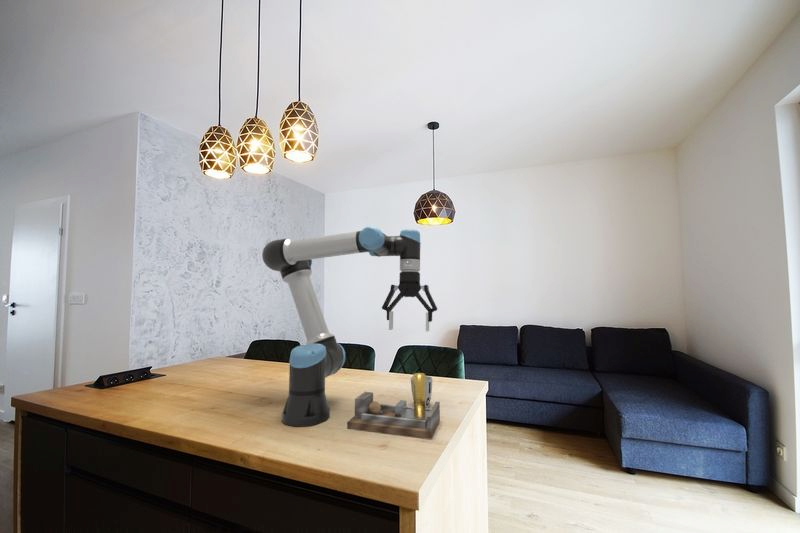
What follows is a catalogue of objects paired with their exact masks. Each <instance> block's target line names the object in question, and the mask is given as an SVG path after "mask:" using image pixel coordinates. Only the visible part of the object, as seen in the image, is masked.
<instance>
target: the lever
mask: <svg viewBox="0 0 800 533" xmlns="http://www.w3.org/2000/svg"><path fill="white" fill-rule="evenodd" d="M413 376H414V401H413V407H414V410H413V409H407V407H408V406H407V404H408V403H407V400H403V399H400V400H399V401H398V402H397V403H396V404H395V417H400V418H409V419H418V420H426V426H427V415H428V414H429V412H430V411H425V376H426V373H423V372H415V373H413Z"/></svg>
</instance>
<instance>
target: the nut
mask: <svg viewBox="0 0 800 533" xmlns="http://www.w3.org/2000/svg"><path fill="white" fill-rule="evenodd" d="M380 404H381V403H380V402H378V401H374V400H373V402H372V403H370V405H369V412H370V413H371V414H373V415H377V414H378V413H379V412H380V411H381V405H380Z"/></svg>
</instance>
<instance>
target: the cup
mask: <svg viewBox="0 0 800 533" xmlns="http://www.w3.org/2000/svg"><path fill="white" fill-rule="evenodd" d="M410 388H411V395H412V401H413V402H414V375H412V376H411V377H410ZM432 391H433V377H432V376H428V375H425V408H426V409H428V408H429V406H430V403H431V400H432Z"/></svg>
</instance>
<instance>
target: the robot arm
mask: <svg viewBox="0 0 800 533" xmlns="http://www.w3.org/2000/svg"><path fill="white" fill-rule="evenodd" d="M363 253H369V255H370V256H371V257H378V258H380V257H399V271H400V272H399V279H398V280H399V284H398V285H395V284H391V285H390V289H389V290H390V291H389V293H388V294H387V296H386V298H385V300H384V302H383V304H382V306H381V309H382V310H384V311H385V312H386V320H387V321H388V330H389V331H391V330H394V311H393V309H395V307H396V305H398V303H399V302H400V301H401V300H402V299H403V298H416V299H417V300H418V301H419V302H420V303H421V305H422V306H423V307H424V308H425V310H426V311H427V312H425V332H430V323H432V322H433V313H434V312H437V311H438V307H437V305H436V303H435V301H434V299H433V297H432V294H431V292H430V289H429V288H430V287H429V285H428V284H424V285H421V273H420V271H421V233H420V232H419V230H417V229H410V228H409V229H407V228H406V229H402V230H401V231H400V234H399V235H397V236H396V235H394V236H393V235H391V236H389V235H386V233H384V232H383V231H382V230H381V229H380V228H378V227H375V226H371V225H370V226H366V227H364V228H362V229H361V230H359V231H358V230H357V231H352V232H351V231H350V232H344V233H338V234H329V235H322V236H318V237H317V236H316V237H315V236H314V237H310V238H307V237H306V238H302V239H301V238H300V239H293V238H290V237H288V238H282V239H281V238H280V239H275V240H272V241H270V242H268V243H267V244H266V245H265V246H264V247H263V249H262V255H261V256H262V257H261V258H262V261H263V263H264V264H265V266H266V267H267V268H269V269H270V270H272V271H275V272H279V273H280V276H281V279H282V281H283V282H284V283H286V284H288V286H289V290H290V292H291V296H292V299H293V302H294V304H295V308H296V311H297V314H298V317H299V320H300V323H301V326H302V329H303V331H304V335H305V339H306V343H305V344H300V345H298V346H295V347H294V348H292V349H291V352H290V356H289V361H288V364H289V372H288V373H289V374H288V375H289V378H288V379H289V380H288V382H289V384H288V397H287V399H286V402H285V406H284V408H283V411H282V415H281V417H282V418H281V421H282V422H281V423H283V424H284V425H285V426H286V425H287V426H290V427H309V426H313V425H317V424H318V425H319V424H320V423H321V424H322V423H323V422H325V421H327V420H328V419H330V414H331V413H330V412H331V410H330V406H329V402H328V398H327V396H326V378H328V377H330V376H332V375H335V374H337V372H339V371H340V370H341V369H342V368H343V366H344V364H345V362H346V351H345V349H344V347H343V346H342V345H341V344H340V343H338V342H337V340H336V336H335V335H334V334H332V333H330V331H329V328H328V326H327V323H326V319H325V318H324V314H323V312H322V309H321V306H320V303H319V300H318V296H317V294H316V292H315V291H316V290H315V289H314V285H313V282H312V280H311V278H310V277H311V275H312V273H313V271H312V265H313V260H317V259H325V258H332V257H339V256H346V255H354V254H355V255H356V254H363ZM398 290H399V293H398V294H397V296H396V297H395V298H394V294H395V292H396V291H398ZM421 290H422V292H424V293H425V296H426V298H427V299H428V300H427V301H428V302H429V304H430V306H429V304H428V303H427V301H426V300H425V299H424V298H423V297H422V295H421V294H420V291H421ZM392 298H394V300H393V301H392ZM391 301H392V302H391Z"/></svg>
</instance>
